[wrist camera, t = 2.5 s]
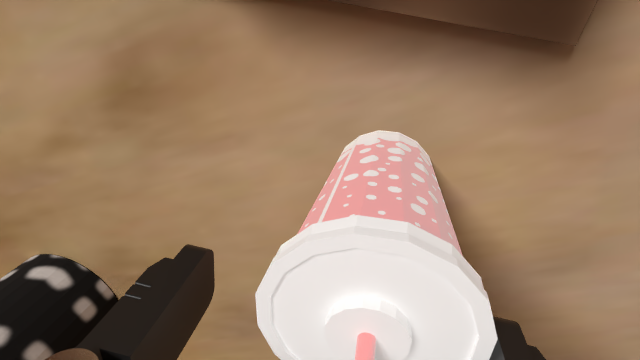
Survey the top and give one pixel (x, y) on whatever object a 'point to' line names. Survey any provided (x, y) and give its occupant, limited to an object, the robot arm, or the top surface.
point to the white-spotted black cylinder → (49, 307)
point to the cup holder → (500, 15)
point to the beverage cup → (376, 268)
